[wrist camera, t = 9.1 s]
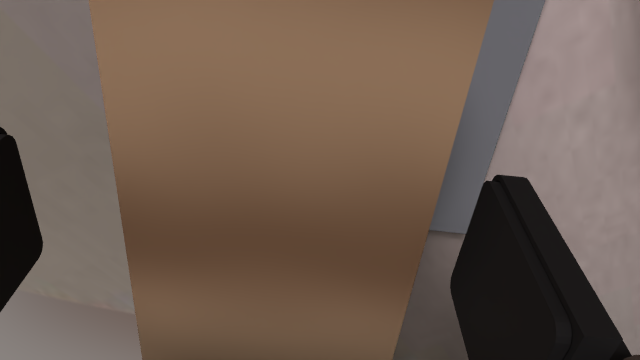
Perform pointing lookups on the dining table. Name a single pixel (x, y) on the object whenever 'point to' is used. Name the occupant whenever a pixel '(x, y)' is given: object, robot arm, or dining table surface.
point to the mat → (485, 110)
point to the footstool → (280, 165)
